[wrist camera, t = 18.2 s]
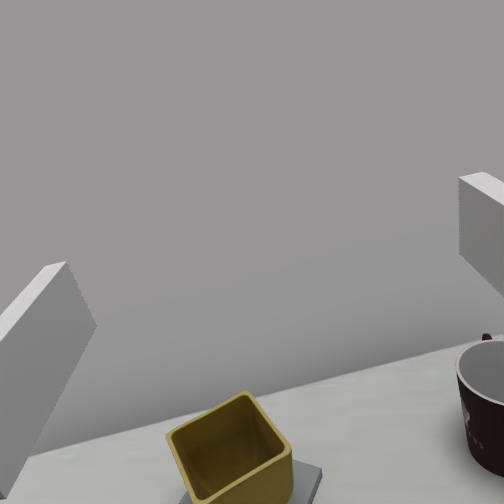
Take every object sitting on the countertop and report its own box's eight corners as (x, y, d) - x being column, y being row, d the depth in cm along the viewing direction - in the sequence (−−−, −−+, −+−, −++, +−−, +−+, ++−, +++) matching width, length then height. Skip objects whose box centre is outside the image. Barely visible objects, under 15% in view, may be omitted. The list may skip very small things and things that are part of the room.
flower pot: (222, 577, 36) (194, 509, 32) (189, 495, 43) (163, 432, 39) (310, 517, 39) (293, 449, 35) (264, 450, 46) (247, 388, 42)
